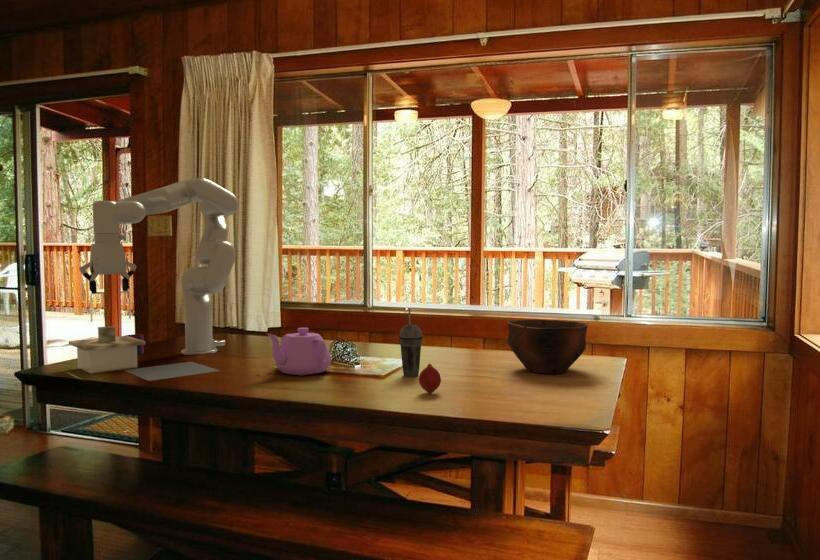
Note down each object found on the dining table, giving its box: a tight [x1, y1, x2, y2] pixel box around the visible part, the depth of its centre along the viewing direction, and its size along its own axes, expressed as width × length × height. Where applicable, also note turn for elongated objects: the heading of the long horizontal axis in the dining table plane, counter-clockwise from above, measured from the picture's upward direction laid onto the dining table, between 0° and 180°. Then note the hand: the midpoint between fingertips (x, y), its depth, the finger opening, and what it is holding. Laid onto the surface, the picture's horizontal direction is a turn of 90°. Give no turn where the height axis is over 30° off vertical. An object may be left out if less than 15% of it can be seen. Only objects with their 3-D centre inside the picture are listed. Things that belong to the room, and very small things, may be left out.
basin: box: [76, 345, 138, 374], centre depth 208 cm, size 14×14×8 cm
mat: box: [122, 361, 221, 382], centre depth 202 cm, size 22×22×1 cm
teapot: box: [267, 327, 332, 377], centre depth 199 cm, size 22×22×14 cm
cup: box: [124, 333, 145, 356], centre depth 236 cm, size 7×10×7 cm
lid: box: [68, 325, 147, 351], centre depth 207 cm, size 18×18×6 cm
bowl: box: [506, 319, 589, 374], centre depth 201 cm, size 25×25×15 cm
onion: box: [418, 363, 442, 394], centre depth 170 cm, size 6×6×8 cm
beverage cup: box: [398, 309, 424, 378], centre depth 194 cm, size 7×7×20 cm
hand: (109, 292), depth 210 cm, fingers open, 9 cm apart
